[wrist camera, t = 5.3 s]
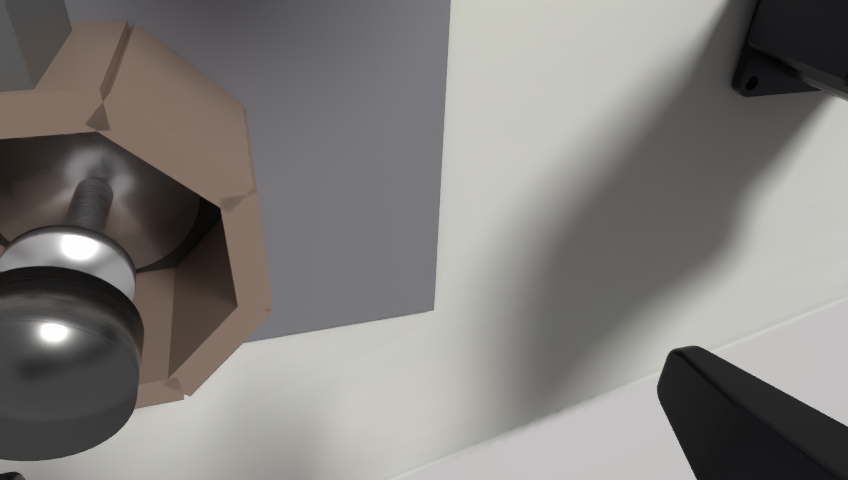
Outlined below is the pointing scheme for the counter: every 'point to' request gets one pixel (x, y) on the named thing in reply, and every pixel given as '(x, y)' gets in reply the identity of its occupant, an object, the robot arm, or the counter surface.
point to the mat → (327, 140)
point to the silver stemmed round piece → (76, 286)
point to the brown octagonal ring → (165, 150)
